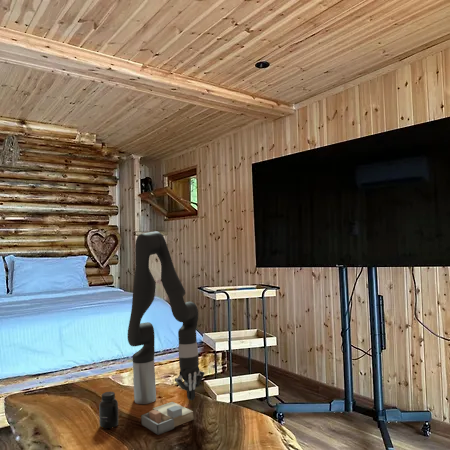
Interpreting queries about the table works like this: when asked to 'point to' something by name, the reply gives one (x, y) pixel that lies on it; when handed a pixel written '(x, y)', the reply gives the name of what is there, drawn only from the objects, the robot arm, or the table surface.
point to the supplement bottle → (108, 410)
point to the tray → (155, 427)
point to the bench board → (185, 417)
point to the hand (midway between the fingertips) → (191, 399)
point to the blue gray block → (174, 411)
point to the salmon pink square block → (155, 416)
